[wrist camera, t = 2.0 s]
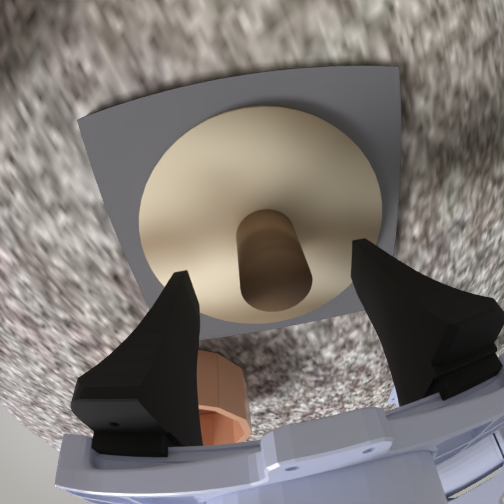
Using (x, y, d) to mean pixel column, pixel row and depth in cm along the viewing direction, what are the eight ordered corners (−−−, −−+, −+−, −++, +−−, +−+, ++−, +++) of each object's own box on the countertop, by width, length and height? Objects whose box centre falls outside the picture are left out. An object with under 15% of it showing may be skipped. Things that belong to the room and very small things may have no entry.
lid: (369, 294, 20) (395, 346, 16) (181, 327, 21) (176, 387, 17) (375, 94, 13) (430, 112, 9) (111, 138, 13) (69, 172, 9)
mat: (380, 295, 22) (385, 304, 21) (169, 334, 22) (167, 344, 21) (389, 65, 13) (398, 66, 12) (84, 116, 13) (77, 120, 12)
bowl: (253, 404, 29) (258, 448, 25) (153, 413, 29) (149, 454, 25) (232, 339, 23) (235, 395, 19) (104, 353, 23) (92, 402, 19)
